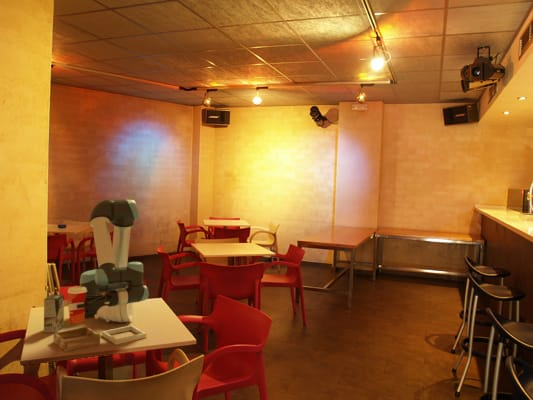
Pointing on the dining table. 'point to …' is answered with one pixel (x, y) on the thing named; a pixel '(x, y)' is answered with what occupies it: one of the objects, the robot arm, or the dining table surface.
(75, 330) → the tray
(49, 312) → the coffee box
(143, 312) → the dining table surface
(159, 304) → the dining table surface
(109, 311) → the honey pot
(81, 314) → the coffee cup
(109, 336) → the tray
